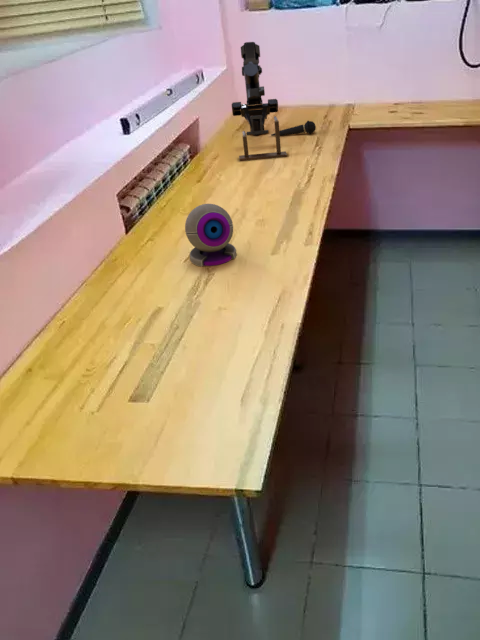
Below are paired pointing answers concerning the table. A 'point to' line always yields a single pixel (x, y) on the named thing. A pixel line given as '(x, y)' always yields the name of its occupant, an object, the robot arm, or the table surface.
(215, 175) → the table surface
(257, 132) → the black piece
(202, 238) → the webcam
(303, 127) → the microphone
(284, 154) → the rack
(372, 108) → the table surface
